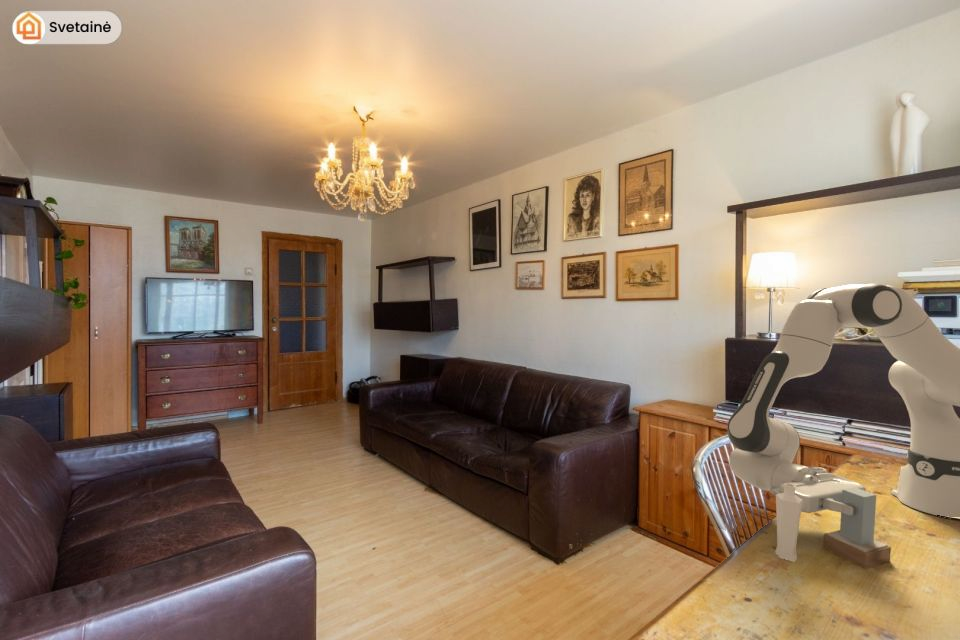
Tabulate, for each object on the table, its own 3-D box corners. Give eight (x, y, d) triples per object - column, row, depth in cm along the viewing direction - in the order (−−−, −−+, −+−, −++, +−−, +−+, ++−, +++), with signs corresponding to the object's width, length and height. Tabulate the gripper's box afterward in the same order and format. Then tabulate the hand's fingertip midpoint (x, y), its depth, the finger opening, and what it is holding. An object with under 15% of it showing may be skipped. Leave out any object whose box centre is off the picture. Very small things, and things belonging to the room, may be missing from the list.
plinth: (846, 541, 100) (847, 527, 100) (889, 561, 93) (890, 545, 92) (822, 547, 97) (823, 532, 97) (865, 568, 90) (866, 552, 90)
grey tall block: (851, 532, 97) (854, 487, 97) (873, 542, 94) (876, 494, 93) (839, 535, 96) (842, 489, 96) (861, 545, 92) (864, 497, 92)
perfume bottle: (804, 564, 91) (808, 490, 90) (780, 561, 92) (784, 488, 91) (793, 551, 95) (797, 482, 95) (770, 549, 96) (774, 479, 95)
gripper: (765, 475, 103) (830, 501, 90) (825, 466, 110) (893, 488, 97) (764, 502, 103) (829, 532, 90) (823, 491, 110) (891, 517, 97)
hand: (863, 509), depth 94 cm, fingers open, 5 cm apart
